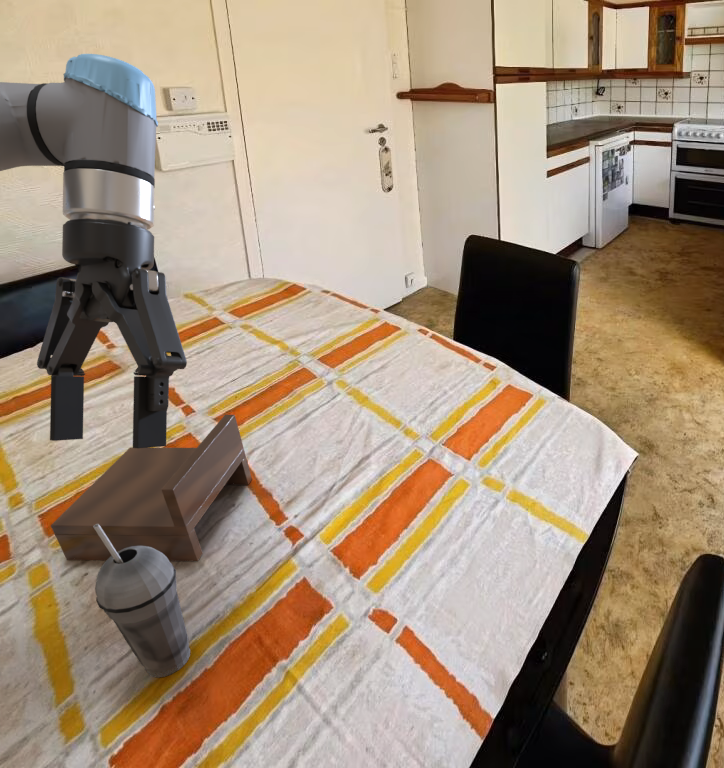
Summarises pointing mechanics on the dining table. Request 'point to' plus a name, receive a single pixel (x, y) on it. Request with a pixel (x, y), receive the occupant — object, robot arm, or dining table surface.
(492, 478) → the dining table surface
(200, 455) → the shelf
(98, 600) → the beverage cup
